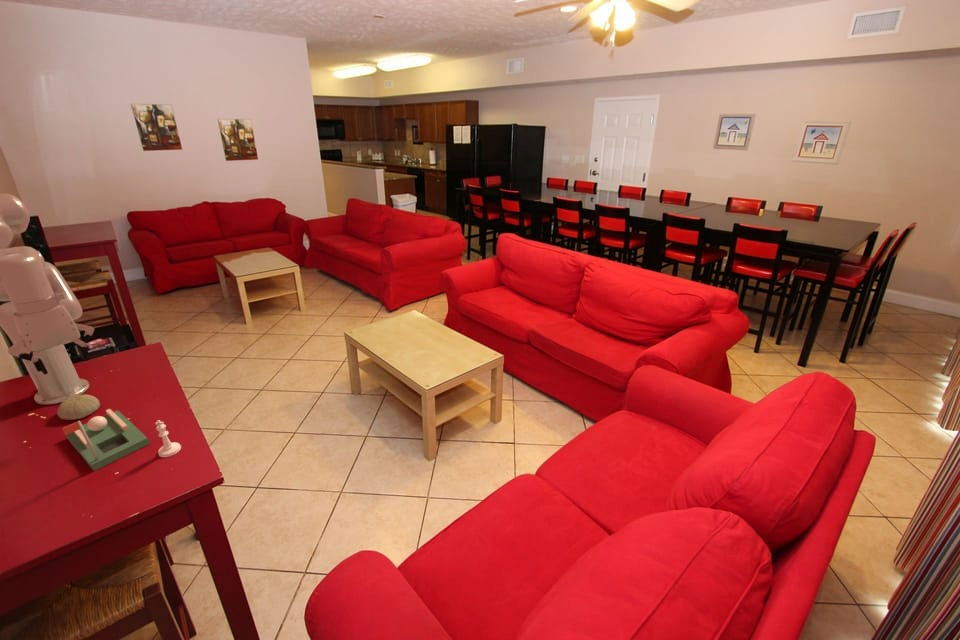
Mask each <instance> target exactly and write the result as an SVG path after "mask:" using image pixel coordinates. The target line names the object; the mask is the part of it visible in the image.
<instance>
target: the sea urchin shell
mask: <svg viewBox="0 0 960 640" xmlns="http://www.w3.org/2000/svg"><path fill="white" fill-rule="evenodd" d="M100 406H101V403H100V400H99V398H97V397H96V396H93V395H90V394H87V393H85V394H84V393H83V394H81V395H78V396H73V397H71V398H68V399H66V400H65V401H64V402H61V403H60V405H59V406H58V408H57V412H56V413H57V416H58V418H60V419H62V420H67V421H68V420H79V419H83V418H84V419H85V417H88V416H90V415H92V414H93V413H95V412H96V411H98V409H99V408H100Z"/></svg>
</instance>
